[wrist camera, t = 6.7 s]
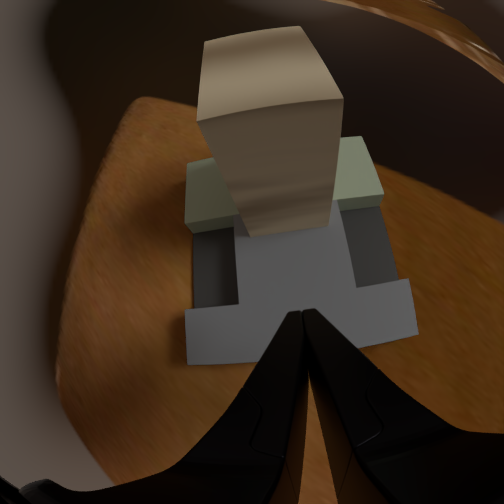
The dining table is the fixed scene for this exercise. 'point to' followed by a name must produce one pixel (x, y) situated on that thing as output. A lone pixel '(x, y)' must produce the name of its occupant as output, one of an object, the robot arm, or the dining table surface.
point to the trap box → (292, 267)
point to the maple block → (272, 127)
